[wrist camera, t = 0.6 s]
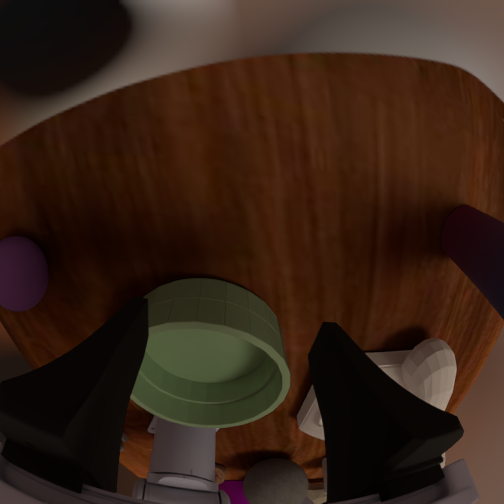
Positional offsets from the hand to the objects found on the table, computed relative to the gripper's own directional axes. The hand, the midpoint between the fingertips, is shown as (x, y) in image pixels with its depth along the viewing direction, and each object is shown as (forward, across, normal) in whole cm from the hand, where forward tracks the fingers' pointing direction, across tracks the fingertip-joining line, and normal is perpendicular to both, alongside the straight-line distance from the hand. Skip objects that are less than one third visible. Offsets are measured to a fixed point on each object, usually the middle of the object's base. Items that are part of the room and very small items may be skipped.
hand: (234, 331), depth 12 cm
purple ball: (+7, +17, +5) cm, 19 cm away
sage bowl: (+10, +1, +10) cm, 14 cm away
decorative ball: (+10, -12, +37) cm, 40 cm away
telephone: (+10, -19, +16) cm, 27 cm away
